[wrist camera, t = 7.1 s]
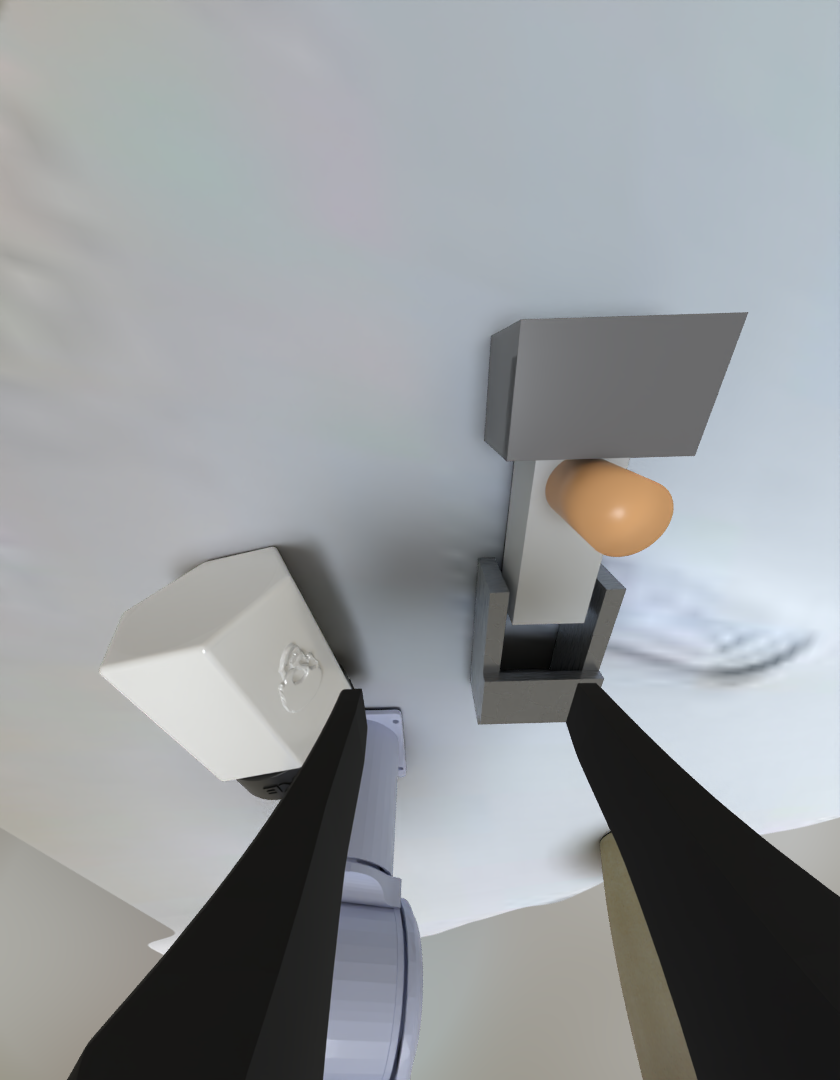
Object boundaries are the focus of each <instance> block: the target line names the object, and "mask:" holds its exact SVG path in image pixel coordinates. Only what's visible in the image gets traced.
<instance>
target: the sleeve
mask: <svg viewBox="0 0 840 1080" xmlns="http://www.w3.org/2000/svg"><path fill="white" fill-rule="evenodd" d="M625 591H626V588H625V587H624V586H623V585H622V584H621V583H620V582H619V581H618V580H617V579H616V578H615V577H614V576H613V575H612V574H611V573H610V572H609V571H608V570H607V569H606V568H605V567H604V566H603V565H602V564H600V567H599V571H598V574H597V578H596V582H595V585H594V589H593V592H592V596H591V600H590V603H589V607H588V610H587V614H586V617H585V621H584V623H566V624H560V626H559V630H558V635H557V639H556V643H555V647H554V652H553V656H552V660H551V665H550V669H530V670H500V663H501V656H502V648H503V640H504V632H505V625H506V617H507V609H508V601H509V594H510V592H509V590H508V587H507V585H506V583H505V580H504V578H503V576H502V574H501V571H500V569H499V567H498V564H497V562H496V560H495V558H478V570H477V585H476V600H475V615H474V629H473V644H472V659H471V673H470V683H471V688H472V694H473V699H474V705H475V711H476V716H477V722H478V724H511V723H548V722H566V720H567V717H568V713H569V710H570V707H571V704H572V700H573V697H574V694H575V690H576V687H577V684H578V683H597V684H598V685H599V686H600V687H601V686H602V683H603V680H604V678H603V676H602V674H601V673H600V671H599V668H600V665H601V662H602V659H603V656H604V653H605V650H606V647H607V645H608V642H609V639H610V636H611V633H612V630H613V627H614V624H615V621H616V618H617V615H618V612H619V609H620V606H621V603H622V600H623V597H624V594H625Z"/></svg>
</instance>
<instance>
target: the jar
mask: <svg viewBox="0 0 840 1080" xmlns="http://www.w3.org/2000/svg"><path fill="white" fill-rule="evenodd" d="M99 673H100V675H101V676H102V677H103V678H104V679H105V680H107V681H108V682H109V683H110V684H111V685H112V686H113V687H115V688H116V689H117V690H118V691H119V692H120V693H121V694H122V695H124V696H125V697H126V698H127V699H128V700H129V701H130V702H132V703H133V704H134V705H135V706H136V707H137V708H138V709H140V710H141V711H142V712H143V713H144V714H145V715H146V716H148V717H149V718H150V719H151V720H152V721H153V722H154V723H155V724H157V725H158V726H159V727H160V728H161V729H162V730H163V731H165V732H166V733H167V734H168V735H169V736H170V737H171V738H173V739H174V740H175V741H176V742H177V743H178V744H179V745H181V746H182V747H183V748H184V749H185V750H186V751H187V752H188V753H190V754H191V755H192V756H193V757H194V758H195V759H196V760H198V761H199V762H200V763H201V764H202V765H203V766H204V767H206V768H207V769H208V770H209V771H210V772H211V773H212V774H214V775H215V776H216V777H217V778H218V779H219V780H220V781H223V782H224V781H230V780H235V779H236V780H237V781H238V782H239V783H240V784H241V785H242V786H244V787H245V788H246V789H247V790H248V791H249V792H250V793H251V794H253V795H255V796H257V797H259V798H262V799H267V800H278V799H282V797H283V796H284V794H285V793H286V791H287V789H288V788H289V786H290V785H291V783H292V781H293V780H294V778H295V776H296V775H297V773H298V772H299V770H300V768H301V767H302V765H303V763H304V762H305V760H306V758H307V756H308V755H309V753H310V751H311V749H312V747H313V746H314V744H315V742H316V740H317V739H318V737H319V735H320V733H321V731H322V729H323V727H324V725H325V724H326V722H327V720H328V718H329V716H330V714H331V712H332V710H333V707H334V705H335V703H336V701H337V699H338V697H339V694H340V692H341V691H342V690H343V689H354V687H353V685H352V683H351V680H350V679H348V677H347V675H346V673H345V671H344V669H343V668H342V666H341V665H340V664H339V663H338V662H337V660H336V658H335V656H334V654H333V652H332V650H331V648H330V647H329V645H328V643H327V641H326V639H325V637H324V635H323V633H322V632H321V630H320V628H319V626H318V624H317V622H316V620H315V619H314V617H313V615H312V613H311V611H310V609H309V607H308V605H307V604H306V602H305V600H304V598H303V596H302V594H301V592H300V590H299V589H298V587H297V585H296V583H295V581H294V579H293V577H292V575H291V574H290V572H289V570H288V568H287V566H286V564H285V562H284V560H283V559H282V557H281V555H280V553H279V551H278V549H277V548H275V547H268V548H264V549H259V550H255V551H251V552H246V553H242V554H238V555H233V556H229V557H225V558H220V559H216V560H211V561H207V562H204V563H202V564H201V565H199V566H197V567H196V568H194V569H193V570H191V571H189V572H188V573H186V574H184V575H183V576H181V577H180V578H178V579H176V580H175V581H173V582H172V583H170V584H168V585H167V586H165V587H164V588H162V589H160V590H159V591H157V592H156V593H154V594H152V595H151V596H149V597H148V598H146V599H144V600H143V601H141V602H140V603H138V604H136V605H135V606H133V607H132V608H130V609H128V610H127V611H125V612H124V613H123V614H122V616H121V618H120V621H119V623H118V626H117V628H116V630H115V633H114V635H113V637H112V640H111V642H110V644H109V647H108V649H107V651H106V654H105V656H104V658H103V661H102V663H101V666H100V668H99Z"/></svg>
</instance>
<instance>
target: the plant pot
mask: <svg viewBox="0 0 840 1080" xmlns="http://www.w3.org/2000/svg"><path fill="white" fill-rule="evenodd" d="M600 851H601V862H602V872H603V880H604V887H605V896H606V903H607V910H608V916H609V922H610V928H611V934H612V940H613V946H614V951H615V956H616V962H617V967H618V972H619V977H620V982H621V986H622V992H623V997H624V1001H625V1006H626V1010H627V1014H628V1019H629V1023H630V1027H631V1032H632V1036H633V1040H634V1044H635V1049H636V1052H637V1057H638V1060H639V1065H640V1069H641V1073H642V1077H643V1080H697V1077H696V1074H695V1070H694V1067H693V1064H692V1061H691V1057H690V1054H689V1051H688V1048H687V1044H686V1041H685V1038H684V1035H683V1031H682V1028H681V1025H680V1021H679V1018H678V1015H677V1012H676V1009H675V1006H674V1003H673V1000H672V997H671V994H670V991H669V988H668V985H667V982H666V979H665V976H664V973H663V970H662V967H661V964H660V961H659V958H658V955H657V952H656V949H655V946H654V943H653V941H652V938H651V935H650V932H649V929H648V926H647V923H646V920H645V918H644V915H643V912H642V909H641V906H640V904H639V901H638V898H637V895H636V893H635V890H634V887H633V885H632V882H631V879H630V876H629V874H628V871H627V868H626V866H625V863H624V861H623V858H622V856H621V853H620V851H619V849H618V846H617V844H616V841H615V839H614V837H613V835H612V833H609V834H607V835H606V836H605V837H603V839H602V840H601V842H600Z"/></svg>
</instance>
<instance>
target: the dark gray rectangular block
mask: <svg viewBox="0 0 840 1080" xmlns="http://www.w3.org/2000/svg"><path fill="white" fill-rule="evenodd" d="M747 314H748V312H745V313H713V314H681V315H649V316H617V317H586V318H554V319H522V320H519V321H518V322H516V323H514V324H512V325H510V326H509V327H507V328H505V329H503V330H501V331H500V332H498V333H496V334H494V335H492V336H491V346H490V362H489V377H488V392H487V408H486V423H485V438H484V441H485V442H486V443H488V444H489V445H490V446H491V447H492V448H493V449H494V450H495V451H496V452H497V453H498V454H499V455H501V456H502V457H503V458H504V459H505V460H506V461H537V460H571V459H604V458H638V457H671V456H695V454H696V451H697V449H698V446H699V443H700V440H701V438H702V435H703V432H704V430H705V427H706V424H707V422H708V419H709V416H710V414H711V411H712V408H713V406H714V403H715V400H716V398H717V395H718V392H719V389H720V387H721V384H722V381H723V379H724V376H725V373H726V371H727V368H728V365H729V363H730V360H731V357H732V355H733V352H734V349H735V347H736V344H737V341H738V339H739V336H740V333H741V330H742V328H743V325H744V322H745V320H746V317H747Z"/></svg>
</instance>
